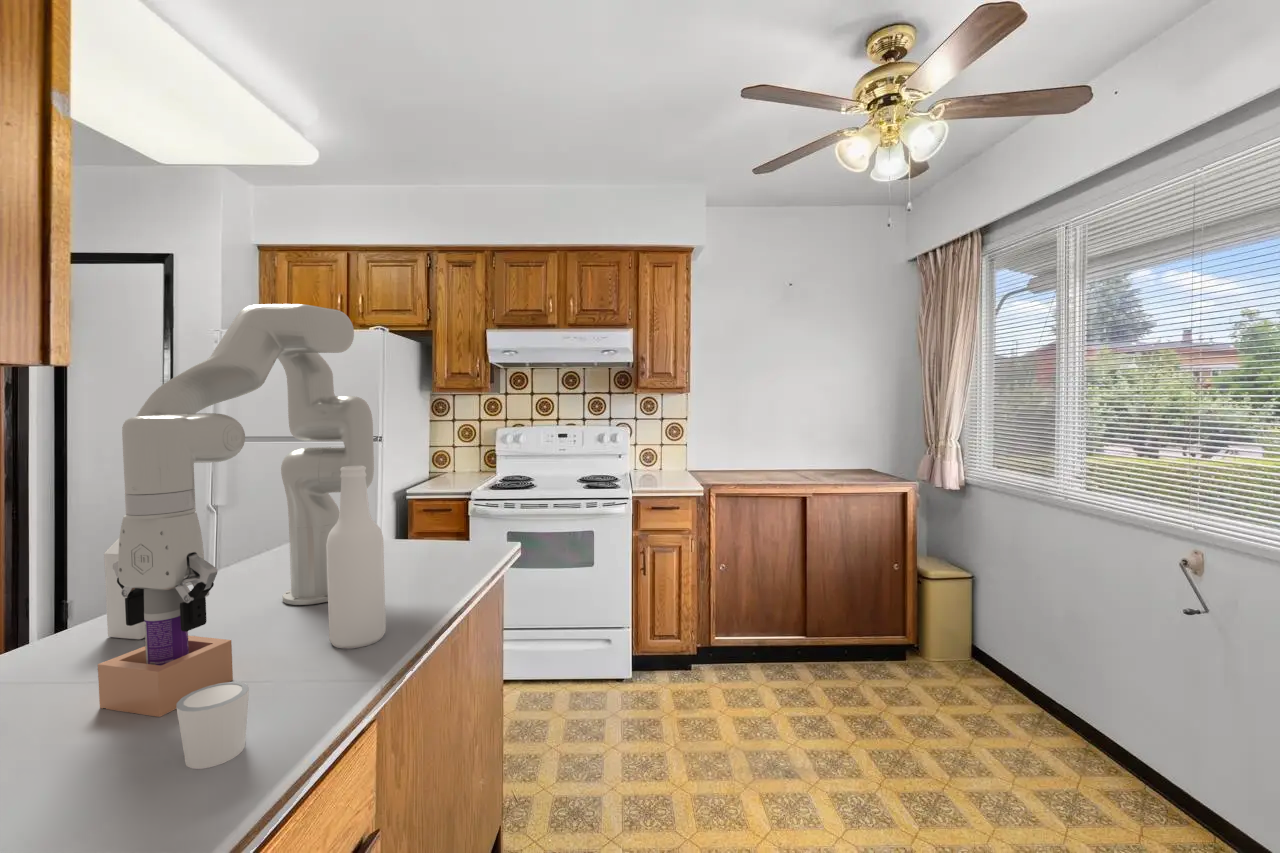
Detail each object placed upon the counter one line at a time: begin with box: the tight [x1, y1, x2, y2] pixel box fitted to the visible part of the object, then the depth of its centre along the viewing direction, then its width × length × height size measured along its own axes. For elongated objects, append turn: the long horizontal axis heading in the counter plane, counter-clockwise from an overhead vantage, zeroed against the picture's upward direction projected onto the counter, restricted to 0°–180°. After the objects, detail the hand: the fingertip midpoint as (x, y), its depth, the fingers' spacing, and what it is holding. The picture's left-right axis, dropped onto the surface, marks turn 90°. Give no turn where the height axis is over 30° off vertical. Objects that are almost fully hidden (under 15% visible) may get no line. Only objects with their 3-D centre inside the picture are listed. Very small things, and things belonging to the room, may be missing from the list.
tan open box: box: [97, 635, 234, 718], centre depth 82 cm, size 10×10×6 cm
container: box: [144, 579, 189, 666], centre depth 82 cm, size 5×5×15 cm
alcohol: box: [326, 466, 387, 650], centre depth 100 cm, size 9×9×30 cm
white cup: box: [176, 681, 250, 770], centre depth 67 cm, size 7×7×7 cm
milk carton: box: [103, 536, 145, 640], centre depth 105 cm, size 7×7×19 cm
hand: (166, 625), depth 81 cm, fingers open, 9 cm apart
